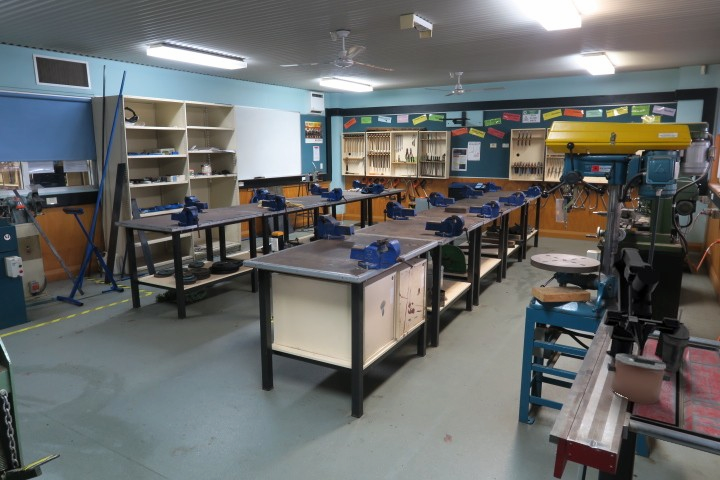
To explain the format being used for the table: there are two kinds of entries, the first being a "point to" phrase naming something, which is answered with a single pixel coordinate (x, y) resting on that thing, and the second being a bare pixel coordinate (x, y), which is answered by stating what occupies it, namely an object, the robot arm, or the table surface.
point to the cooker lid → (640, 361)
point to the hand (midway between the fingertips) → (641, 349)
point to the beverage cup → (675, 347)
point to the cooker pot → (637, 382)
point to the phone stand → (660, 345)
